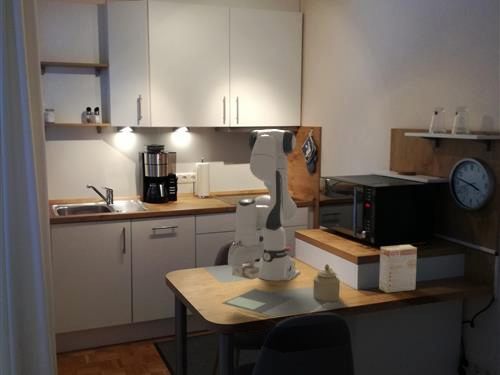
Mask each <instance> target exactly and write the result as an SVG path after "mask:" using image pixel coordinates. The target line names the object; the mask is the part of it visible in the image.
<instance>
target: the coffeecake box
mask: <svg viewBox="0 0 500 375" xmlns="http://www.w3.org/2000/svg"><path fill="white" fill-rule="evenodd" d="M379 254H380V255H379V279H378V280H379V281H378V282H379V283H378V284H379V286H378V289H379V290H381V291H383V292H385V293H387V294H388V293H389V294H390V293H397V292H405V291H406V292H407V291H415V290H416V283H417V282H416V281H417V279H416V278H417V260H418V259H417V257H418V256H417V255H418V247H415V246H413V245H411V244H400V245H389V246H380V253H379Z"/></svg>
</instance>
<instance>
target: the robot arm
mask: <svg viewBox="0 0 500 375" xmlns="http://www.w3.org/2000/svg"><path fill="white" fill-rule="evenodd" d="M247 143H248V145H247V146H248V149H249V150H250V152H251V155H250V161H249V169H250V172H251V174H252V175H253V176H254V177H255V178H256V179H258V180H259V181H262V182H263V185H264V186H265V187H266V189H267V191H268V194H267V195H266V194H265V195H264V194H263V195H259V196H257V197H255V199H253V198H244V199H243V198H242V199H240V200H238V201H237V204H236V211H235V225H236V228H235V240H234V241H235V242H232V244H231V245H230V247H229V249H228V256H227V264H228V265H229V266H231V267H232V266H234V267H235V266H237V268H238V274H240V275H242V274H244V270H243V269H242V266H243V264H247V263H249V264H248V265H251V266H255V264H256V260H258V259H259V263H258V264H259V265H258V267H259V277H258V278H260V279H262V280H265V281H271V282H272V281H273V282H274V281H278V282H279V281H291V280H292V279H294V278H295V277H296V276H298V275H299V274H300V273H301V270H299V269H296V263H295V260H294V259H292V258H291V256H289V254H288V252H290V251H291V247H287V246H286V231H285V229H284V228H283V225H284V223H285V222H287V223H288V222H291V221H293V220H294V219H296V217H297V214H298V207H297V203H295V201H294V200H293V199H292V196H291V193H290V190H289V185H288V170H289V169H288V165H289V164H288V156H289V155H290V154H292V153H293V152H294V151H295V148H296V146H297V139H296V135H295V132H293V131H291V130H288V129H287V130H282V129H261V130H260V129H256V130H252V131H251V132H250V134H248V140H247ZM258 229H261V234H262V235H261V234H258Z"/></svg>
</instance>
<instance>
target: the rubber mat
mask: <svg viewBox="0 0 500 375" xmlns="http://www.w3.org/2000/svg"><path fill="white" fill-rule="evenodd" d="M293 298H294V297H293V296H288V295H284V294H279V293H276V292H271V291H267V290H263V289H259V288H254V289H252V290H249V291H246V292H244V293H243V294H239V295H238V296H235V297H233V298H230V299H228V300H225V301H223V302H222V304H223V305H227V306H230V307H234V308H239V309H243V310H246V311H250V312H254V313H257V314H263V313H265V312H267V311H270V310H272V309H274V308H275V307H278V306H279V305H281V304H284V303H285V302H288V301H290V300H292V299H293Z"/></svg>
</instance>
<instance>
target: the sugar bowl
mask: <svg viewBox="0 0 500 375" xmlns="http://www.w3.org/2000/svg"><path fill="white" fill-rule="evenodd" d="M316 275H317V276H315V277H313V286H312V287H313V292H312V293H313V298H314V299H316V300H317V301H318V300H319V301H324V302H327V303H334V302H337V301H339V299H340V288H341V287H340V286H341V284H340V283H341V281H340V278H339V277H337V275H338V274H337V273H336V272H335V271H334V270H333V268H330V265H329V264H325V266H324V269H322V270H320V271H318V272H317V273H316Z"/></svg>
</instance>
